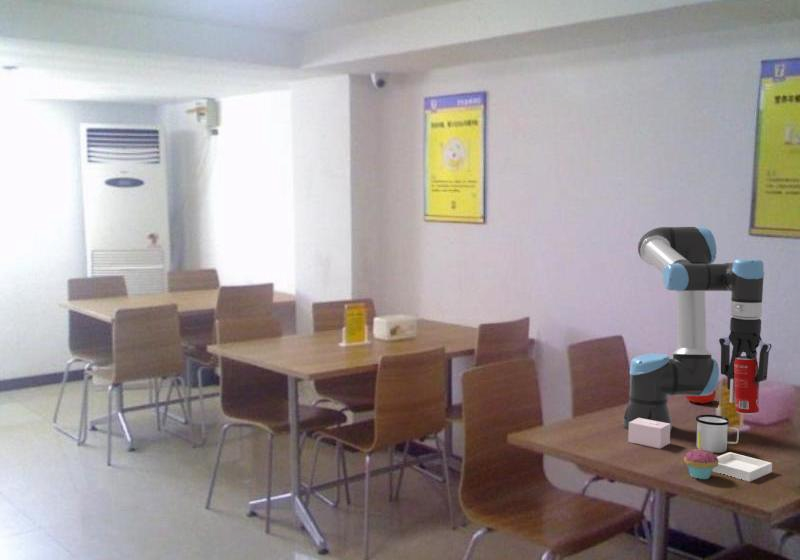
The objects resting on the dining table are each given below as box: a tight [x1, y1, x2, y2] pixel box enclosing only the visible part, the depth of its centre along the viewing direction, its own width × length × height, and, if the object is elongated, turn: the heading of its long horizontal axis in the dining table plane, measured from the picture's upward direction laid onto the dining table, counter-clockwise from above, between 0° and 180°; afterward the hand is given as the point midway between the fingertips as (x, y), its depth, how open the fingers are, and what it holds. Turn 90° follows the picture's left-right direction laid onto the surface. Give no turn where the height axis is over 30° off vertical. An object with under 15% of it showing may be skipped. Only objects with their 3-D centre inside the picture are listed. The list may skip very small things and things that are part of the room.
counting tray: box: [712, 451, 773, 482], centre depth 215 cm, size 12×12×2 cm
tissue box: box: [627, 418, 671, 449], centre depth 240 cm, size 10×7×6 cm
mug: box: [695, 414, 740, 454], centre depth 234 cm, size 12×10×9 cm
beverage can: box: [734, 355, 760, 416], centre depth 212 cm, size 6×6×15 cm
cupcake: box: [683, 433, 718, 480], centre depth 211 cm, size 9×8×12 cm
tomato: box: [685, 389, 717, 405], centre depth 289 cm, size 11×11×8 cm
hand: (742, 403), depth 214 cm, fingers closed on beverage can, 4 cm apart
